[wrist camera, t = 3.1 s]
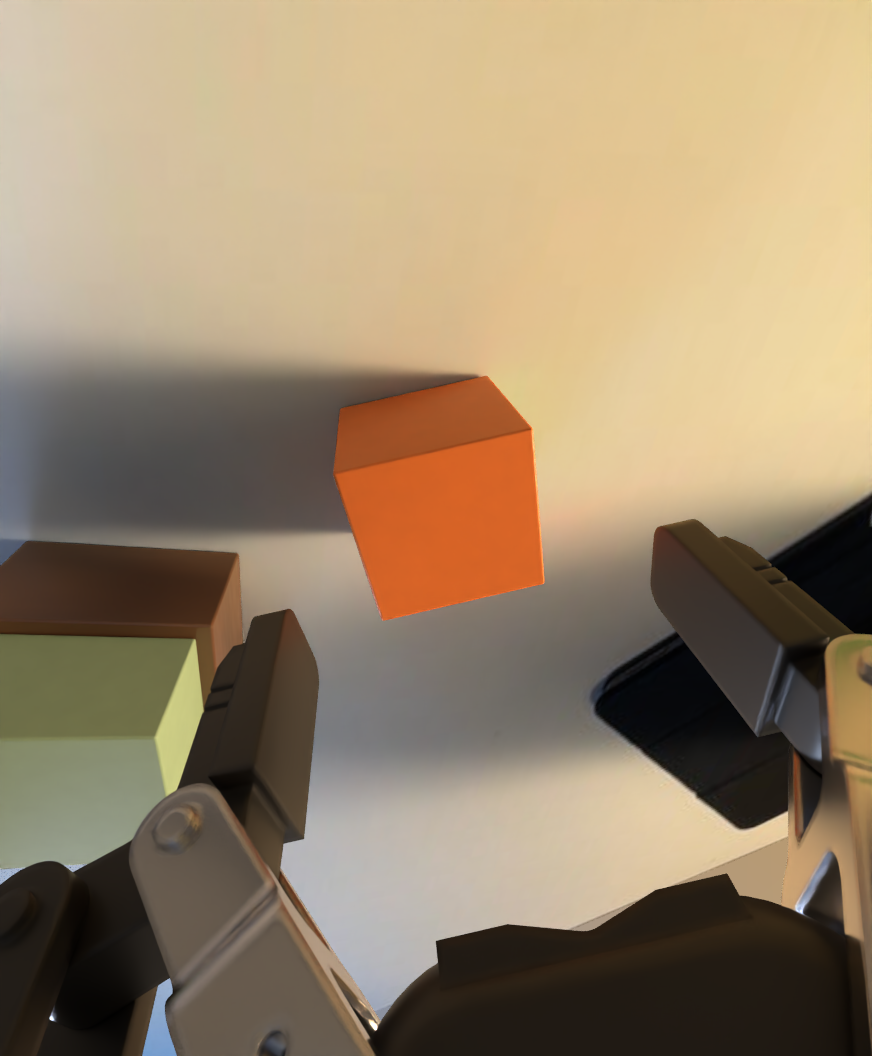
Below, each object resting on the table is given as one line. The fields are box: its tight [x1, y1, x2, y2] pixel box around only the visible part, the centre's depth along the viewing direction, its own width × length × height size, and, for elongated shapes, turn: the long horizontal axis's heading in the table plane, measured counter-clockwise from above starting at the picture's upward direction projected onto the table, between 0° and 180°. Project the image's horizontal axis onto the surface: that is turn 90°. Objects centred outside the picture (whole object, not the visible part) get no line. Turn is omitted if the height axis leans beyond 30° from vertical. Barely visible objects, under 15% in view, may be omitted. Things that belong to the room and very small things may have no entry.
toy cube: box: [333, 376, 544, 621], centre depth 15 cm, size 5×5×5 cm
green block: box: [0, 634, 204, 869], centre depth 14 cm, size 6×6×4 cm
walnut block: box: [0, 541, 243, 712], centre depth 18 cm, size 7×7×4 cm
